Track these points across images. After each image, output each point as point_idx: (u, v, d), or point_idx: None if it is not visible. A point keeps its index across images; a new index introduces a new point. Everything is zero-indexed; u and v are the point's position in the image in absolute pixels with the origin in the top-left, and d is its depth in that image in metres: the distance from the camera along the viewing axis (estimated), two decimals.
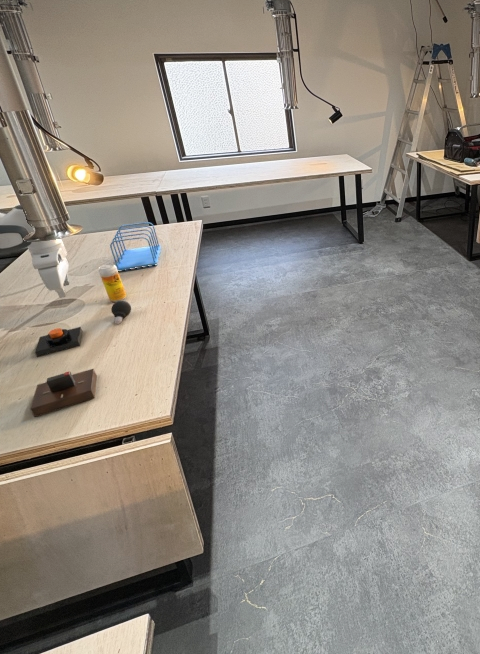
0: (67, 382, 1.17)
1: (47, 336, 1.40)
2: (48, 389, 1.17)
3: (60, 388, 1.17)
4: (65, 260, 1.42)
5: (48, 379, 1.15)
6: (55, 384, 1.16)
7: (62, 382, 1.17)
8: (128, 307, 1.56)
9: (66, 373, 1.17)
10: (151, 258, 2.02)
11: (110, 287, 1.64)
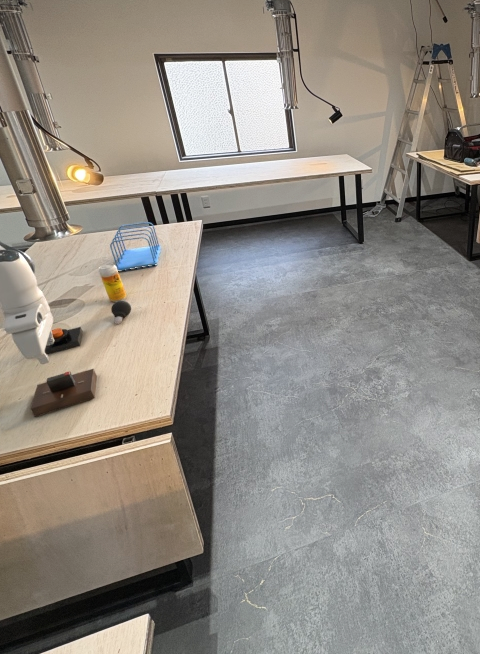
0: (67, 382, 1.17)
1: None
2: (48, 389, 1.17)
3: (60, 388, 1.17)
4: (48, 314, 1.16)
5: (48, 379, 1.15)
6: (55, 384, 1.16)
7: (62, 382, 1.17)
8: (128, 307, 1.56)
9: (66, 373, 1.17)
10: (151, 258, 2.02)
11: (110, 287, 1.64)
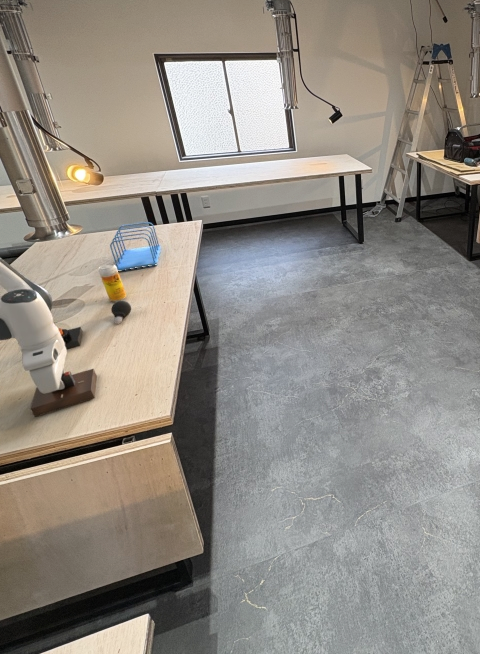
0: (67, 382, 1.17)
1: None
2: None
3: None
4: (62, 346, 1.21)
5: None
6: None
7: None
8: (128, 307, 1.56)
9: (66, 373, 1.17)
10: (151, 258, 2.02)
11: (110, 287, 1.64)
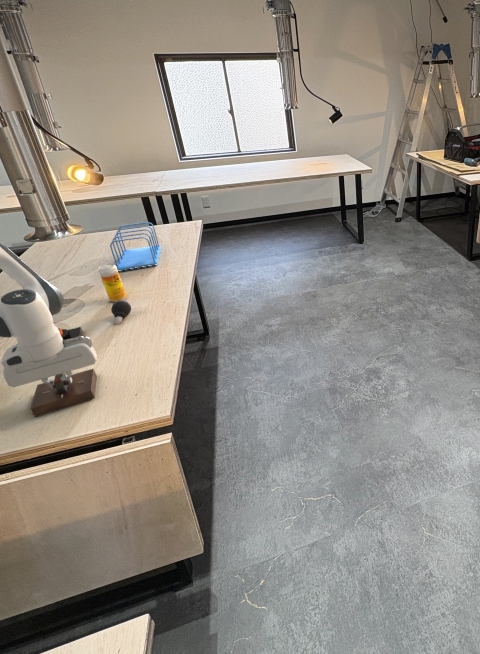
0: None
1: None
2: (48, 389, 1.17)
3: None
4: (83, 357, 1.16)
5: None
6: None
7: None
8: (128, 307, 1.56)
9: (57, 379, 1.15)
10: (151, 258, 2.02)
11: (110, 287, 1.64)
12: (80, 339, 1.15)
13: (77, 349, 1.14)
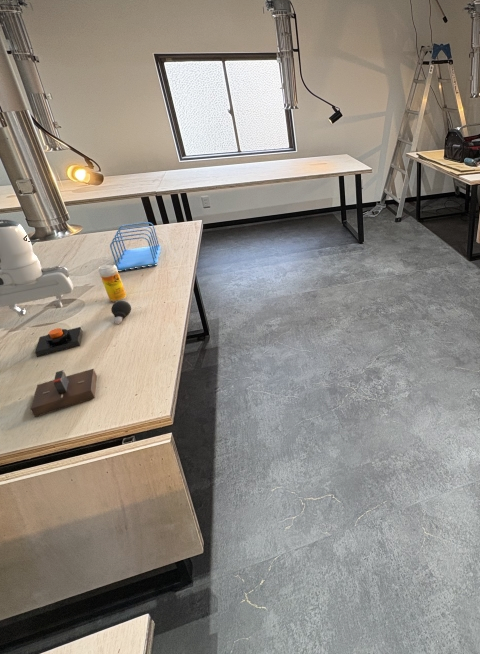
0: None
1: (47, 336, 1.40)
2: (48, 389, 1.17)
3: None
4: (59, 286, 1.28)
5: (59, 371, 1.18)
6: None
7: None
8: (128, 307, 1.56)
9: (57, 379, 1.15)
10: (151, 258, 2.02)
11: (110, 287, 1.64)
12: (57, 268, 1.27)
13: (54, 277, 1.26)
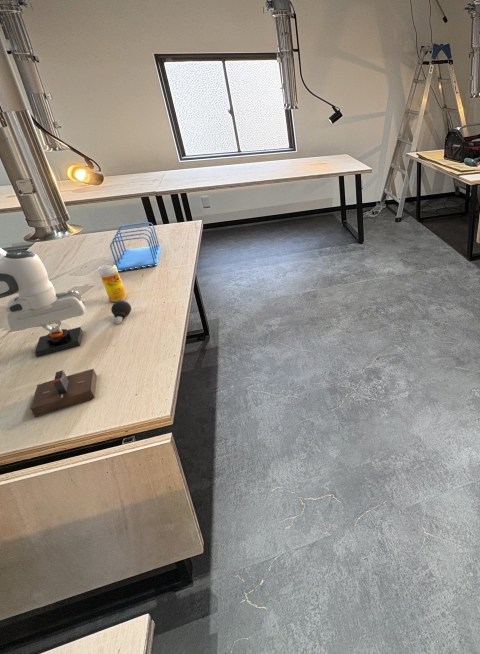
0: None
1: (47, 336, 1.40)
2: (48, 389, 1.17)
3: None
4: (73, 309, 1.39)
5: (59, 371, 1.18)
6: None
7: None
8: (128, 307, 1.56)
9: (57, 379, 1.15)
10: (151, 258, 2.02)
11: (110, 287, 1.64)
12: (71, 293, 1.38)
13: (68, 301, 1.37)
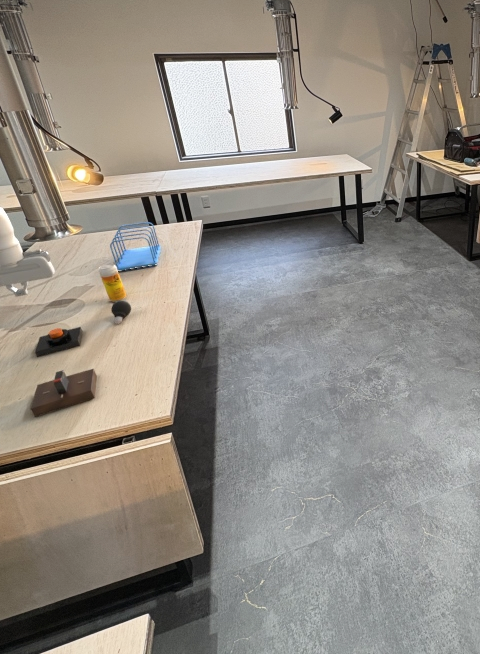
0: None
1: (47, 336, 1.40)
2: (48, 389, 1.17)
3: None
4: (41, 269, 1.29)
5: (59, 371, 1.18)
6: None
7: None
8: (128, 307, 1.56)
9: (57, 379, 1.15)
10: (151, 258, 2.02)
11: (110, 287, 1.64)
12: (39, 252, 1.28)
13: (35, 260, 1.28)
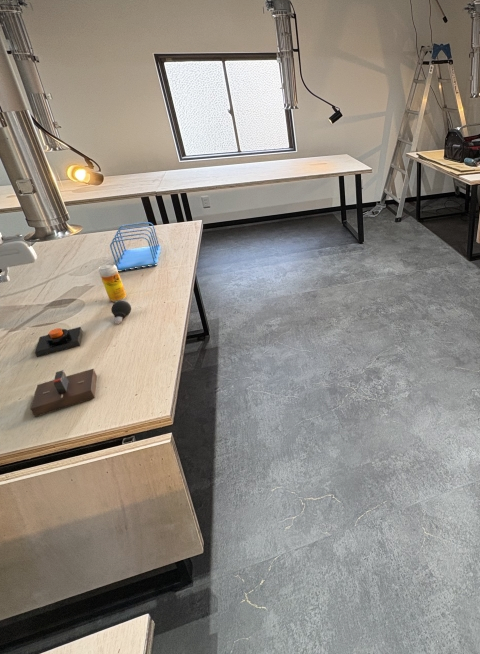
0: None
1: (47, 336, 1.40)
2: (48, 389, 1.17)
3: None
4: (21, 255, 1.25)
5: (59, 371, 1.18)
6: None
7: None
8: (128, 307, 1.56)
9: (57, 379, 1.15)
10: (151, 258, 2.02)
11: (110, 287, 1.64)
12: (19, 237, 1.24)
13: (15, 245, 1.23)
